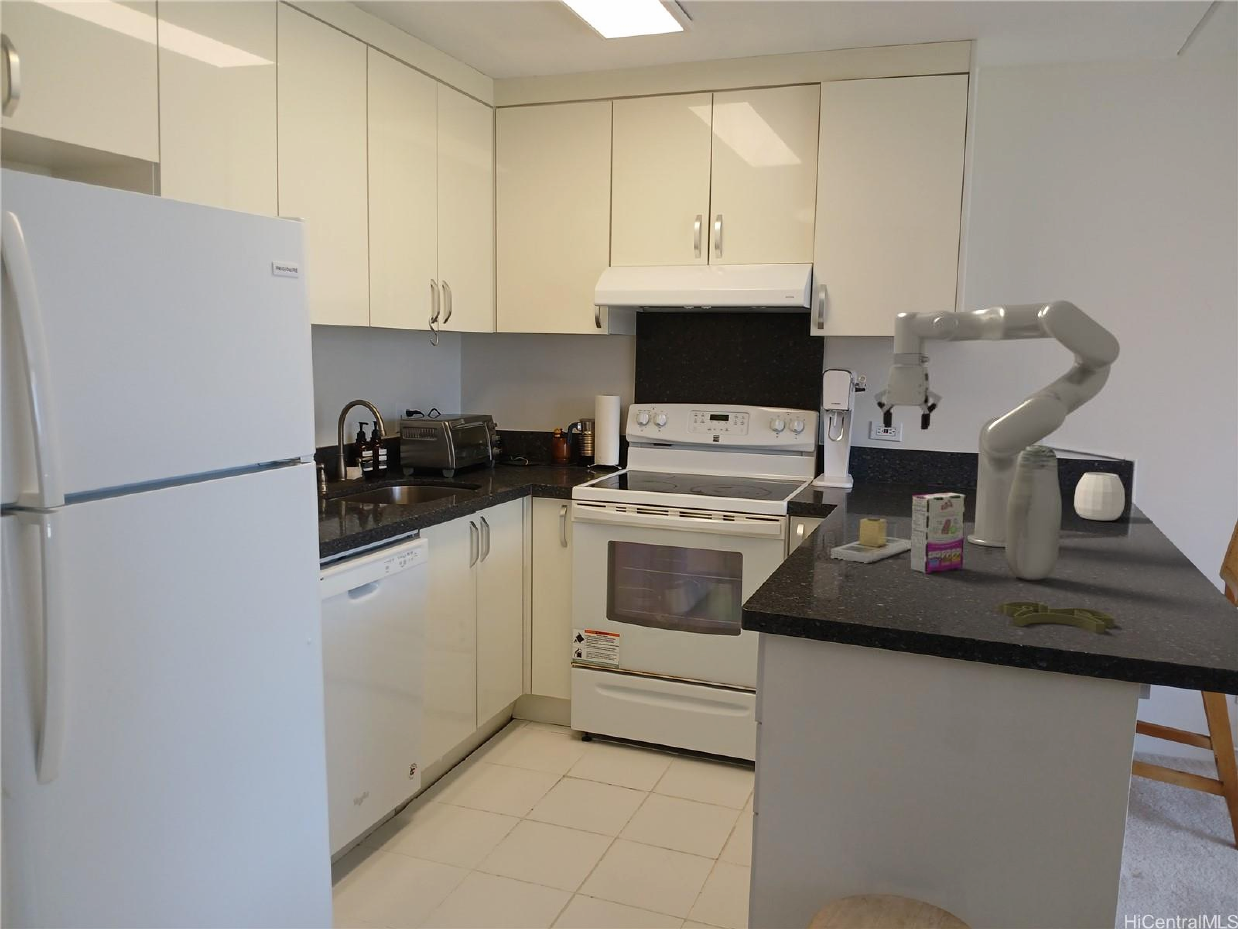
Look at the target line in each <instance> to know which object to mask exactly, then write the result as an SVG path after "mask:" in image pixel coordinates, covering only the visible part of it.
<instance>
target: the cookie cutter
mask: <svg viewBox="0 0 1238 929" xmlns="http://www.w3.org/2000/svg"><path fill="white" fill-rule="evenodd" d="M996 606H997V609H996V612H997V613H999V614H1002V613H1004V614H1005V616H1008V617H1013V619H1012V620H1013V621H1012V625H1013V626H1016V627H1022V626H1023V627H1025V626H1027V625H1030V624H1036V623H1039V624H1040V623H1052V624H1060V625H1061V624H1062V625H1069V626H1073V627H1077V628H1082V629H1084V630H1087V631H1089V632H1092V633H1095V634H1105V629H1106V628H1110V629H1111V628H1112V629H1113V628H1114V624H1115V623H1114V622H1115V618H1114V617H1113V616H1112V615H1110V614H1108V613H1106V612H1104V611H1100V610H1095V609H1089V608H1084V607H1081V608H1080V607H1066V608H1064V607H1063V608H1061V607H1060V608H1051V606H1050V605H1045V604H1042V603H1041V602H1037V601H1036V602H1035V601H1023V600H1021V601H1018V600H1017V601H1009V602H1004V603H1003V602H998V603H997V605H996ZM1034 612H1035V613H1034ZM1004 614H1003V615H1004Z"/></svg>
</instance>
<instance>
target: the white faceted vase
mask: <svg viewBox="0 0 1238 929" xmlns="http://www.w3.org/2000/svg"><path fill="white" fill-rule="evenodd" d="M1125 497H1126V496H1125V487H1124V485H1123V482H1122V481H1121V478H1120V477H1119V474H1115V473H1107V472H1085V473H1084V474H1083V475H1082V477H1081V478H1080V480H1079V481H1078V483H1077V485H1076V487H1075V493H1074V501H1073V502H1074V503H1073V506H1074V509H1075V512H1076V514H1078V516H1079V517H1080V518H1083V519H1086V520H1089V521H1097V522H1107V521H1115V520H1117V519H1118V518H1119V517H1120V516H1121V515H1122V513H1123V511H1124V509H1125V501H1126V498H1125Z"/></svg>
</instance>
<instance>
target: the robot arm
mask: <svg viewBox="0 0 1238 929" xmlns="http://www.w3.org/2000/svg"><path fill="white" fill-rule="evenodd" d="M893 336H894V337H893V340H894V341H893V361H892V362H893V363H892V366H890V369H889V373H888V378H887V382H886V388H885V389H884V390H882V391H880V392H878V393H875V394H874V395H873V397H874V400H875V402H876V405H877V407H878V408H879V409H880V410H881V412H882V413H883V414H882V416H883V417H882V418H883V420H882V423H883V425H884V428H886V429H889V428H892V426H893V412H892V411H891V410H892V409H893V408H894V407H895V406H900V407H901V406H902V407H903V406H905V407H910V406H911V407H919V408H920V410H921V411H922V412H923V413H922V414H921V417H920V429H921V430H924V431H925V430H928V429H929V427H930V425H931V414H933V412H934V411H935V410H936V409H937V408H938V406H939V404H940V402H941V401H942V400H943V397H942V396H941V395H939V394H938V393H936V392H934V391H932V390H931V389H930V388H931V387H930V384H931V383H930V375H929V369H928V367H927V366H925V364H926V363H930V361H931V358H930V356H927V355H926V354H925V351H926V350H925V349H926V340H930V341H934V342H936V343H937V342H938V343H945V342H946V343H949V342H951V343H953V342H966V341H967V342H969V341H970V342H971V341H993V342H994V341H995V342H996V341H1013V340H1014V341H1015V340H1033V339H1055V340H1056V341H1057V342H1059V344H1061V345H1062V346H1063V347H1064V348H1066V349H1067V350H1068V351H1070V352H1071V353H1072V354H1073V358H1074V361H1073V364H1072V366H1071V368H1070V369H1069V370H1068V371H1067V372H1065V373H1064V374H1063V375H1061V376H1060V377H1058V378H1057V379H1055V380H1054V381H1053V382H1051V383H1050V384H1048V385H1047V386H1045V387H1043V388H1041V389H1040V390H1038V391H1036V392H1034V393H1032V394H1030V395H1029V396H1027V397H1026V398H1024V400H1023V401H1022V403H1021V404H1019V405H1018V406H1016V407H1015V408H1013V409H1012V410H1010V411H1009V412H1007V413H1004V415H1002V416H998V417H994V418H991V419H989V420H987V421H986V422H985V423H984V424H983V425H982V426H981V429H980V431H979V434H978V461H977V462H978V464H977V481H976V482H977V484H976V497H975V498H976V499H975V501H976V503H975V516H974V518H975V520H974V533H973V534H970V535H969V534H968V535H967V541H968V542H969V543H972V544H975V545H980V546H987V547H995V548H996V547H997V548H1005V543H1006V518H1007V504H1008V498H1009V494H1010V490H1011V487H1012V484H1013V481H1014V478H1015V473H1016V468H1017V461H1018V457H1019V454H1020V453H1021V451H1022V450H1023V449H1024V448H1026V447H1028V446H1031V445H1035V444H1037V443H1038V442H1040V441H1041V440H1043V439H1044V438H1046V437H1048V436H1049V435H1051V434H1052V433H1054V432H1055V431H1057V430H1058V429H1059V428H1060V427H1061V426H1062V425H1063V424H1064V422H1065V420H1066V418H1067V416H1068V415H1070V414H1072V413H1073V412H1075V411H1076V410H1078V409H1079V408H1081V407H1082V406H1084V405H1085V404H1086V403H1088V402H1089V401H1091V400H1092V399H1093V398H1095V397H1096V396H1097V395H1098V394H1099V393H1100V392H1101V391H1102V390H1103V388H1104V387H1105V385H1106V384H1107V381H1108V379H1109V377H1110V374H1111V373H1110V372H1111V369H1112V364H1114V363H1115V362H1116V360H1117V359H1118V358H1119V355H1120V352H1121V351H1120V350H1121V347H1120V343H1119V340H1118V339H1117V338H1116V337H1115V335H1114V334H1112V332H1110V331H1108V330H1107V329H1106V328H1105V327H1104V326H1102V325H1101V324H1099V323H1098V322H1097V321H1096V320H1095V319H1094V318H1092V317H1091V316H1089V315H1088V314H1087V313H1086V312H1084V311H1083V310H1082V309H1081V308H1080V307H1078V306H1077V305H1076V304H1074V303H1073V302H1071V301H1068V300H1064V299H1063V300H1062V299H1061V300H1055V301H1052V302H1043V303H1026V304H1009V305H1008V304H1004V305H997V306H993V307H989V308H986V309H985V308H984V309H980V310H972V311H958V312H957V311H955V312H951V311H948V310H937V311H936V310H935V311H928V312H919V311H903V312H899V313H897V314H896V315H895V318H894V334H893ZM883 397H885V401H886V403H885V402H884V401H883ZM930 399H933V401H932V402H931V404H930ZM929 404H930V405H929Z"/></svg>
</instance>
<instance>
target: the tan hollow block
mask: <svg viewBox="0 0 1238 929" xmlns="http://www.w3.org/2000/svg"><path fill="white" fill-rule="evenodd" d="M887 524H888V519H883V518H880V517H875V516H871V517H866V518H865V517H864V518H862V519H860V521H859V540H858V541H859V545H860V546H867V547H874V548H881V547H884V546H886V537H887V527H888V526H887Z"/></svg>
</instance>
